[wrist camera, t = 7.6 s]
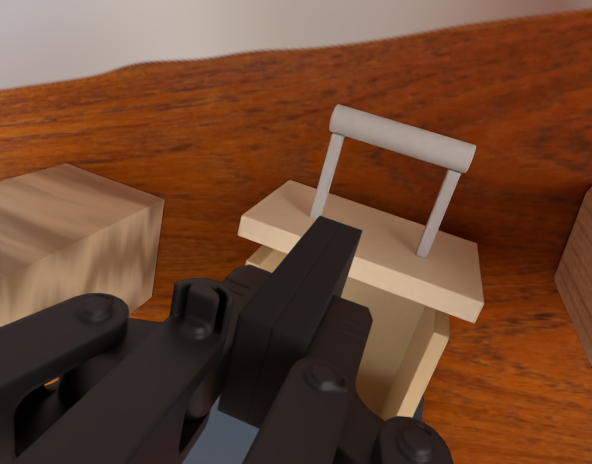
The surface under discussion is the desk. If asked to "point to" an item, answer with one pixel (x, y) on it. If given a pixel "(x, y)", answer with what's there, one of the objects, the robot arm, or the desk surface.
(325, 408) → the robot arm
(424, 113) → the desk surface
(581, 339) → the decorative item
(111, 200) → the stand
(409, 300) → the drawer
